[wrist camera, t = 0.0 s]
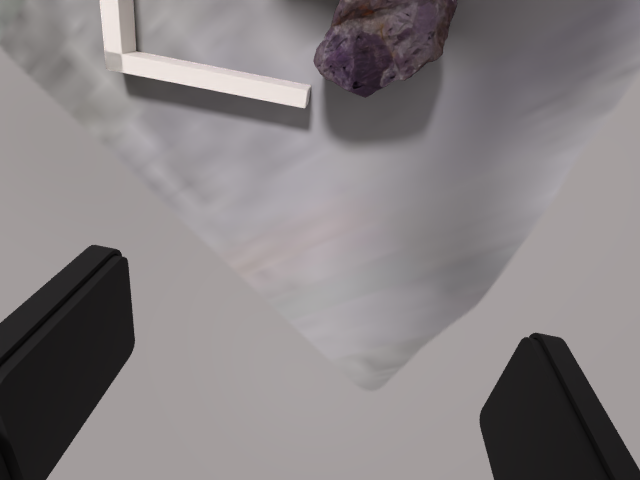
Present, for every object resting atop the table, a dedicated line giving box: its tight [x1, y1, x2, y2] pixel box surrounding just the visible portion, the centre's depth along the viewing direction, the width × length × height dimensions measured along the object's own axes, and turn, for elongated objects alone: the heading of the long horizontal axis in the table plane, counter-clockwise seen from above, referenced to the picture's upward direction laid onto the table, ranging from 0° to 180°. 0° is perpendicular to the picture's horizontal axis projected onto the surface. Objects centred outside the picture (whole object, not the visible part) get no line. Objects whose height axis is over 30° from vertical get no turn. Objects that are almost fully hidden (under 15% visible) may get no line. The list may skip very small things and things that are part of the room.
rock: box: [314, 0, 457, 98], centre depth 30 cm, size 12×9×10 cm
